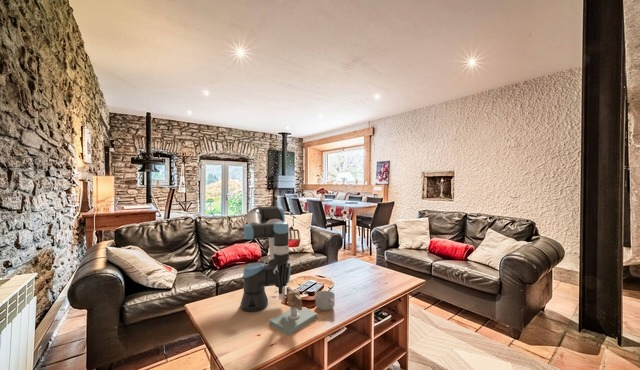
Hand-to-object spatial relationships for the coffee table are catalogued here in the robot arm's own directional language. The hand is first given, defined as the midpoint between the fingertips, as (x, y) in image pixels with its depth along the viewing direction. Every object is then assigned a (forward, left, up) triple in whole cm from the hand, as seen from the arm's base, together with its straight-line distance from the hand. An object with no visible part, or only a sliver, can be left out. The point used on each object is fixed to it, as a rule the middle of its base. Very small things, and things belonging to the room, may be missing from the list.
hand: (281, 298), depth 133 cm
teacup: (+10, +23, -11) cm, 27 cm away
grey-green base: (+6, +3, -11) cm, 13 cm away
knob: (+6, +3, -2) cm, 7 cm away
